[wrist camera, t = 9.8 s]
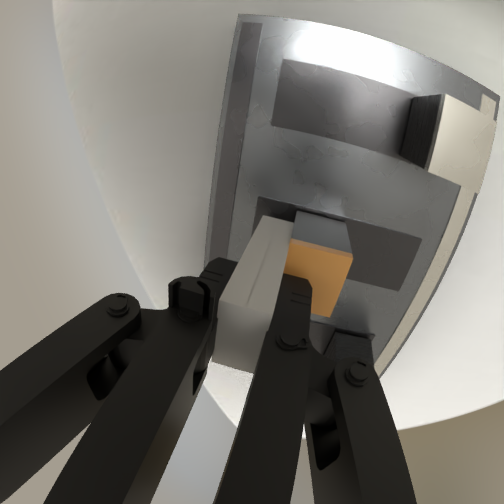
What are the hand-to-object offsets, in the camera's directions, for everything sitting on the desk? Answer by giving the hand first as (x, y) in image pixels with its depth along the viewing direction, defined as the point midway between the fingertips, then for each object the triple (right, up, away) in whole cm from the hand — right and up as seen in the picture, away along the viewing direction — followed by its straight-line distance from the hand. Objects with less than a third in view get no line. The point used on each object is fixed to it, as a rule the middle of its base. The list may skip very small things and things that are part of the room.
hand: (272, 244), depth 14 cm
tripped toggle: (+2, 0, +1) cm, 2 cm away
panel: (+4, +1, +3) cm, 5 cm away
